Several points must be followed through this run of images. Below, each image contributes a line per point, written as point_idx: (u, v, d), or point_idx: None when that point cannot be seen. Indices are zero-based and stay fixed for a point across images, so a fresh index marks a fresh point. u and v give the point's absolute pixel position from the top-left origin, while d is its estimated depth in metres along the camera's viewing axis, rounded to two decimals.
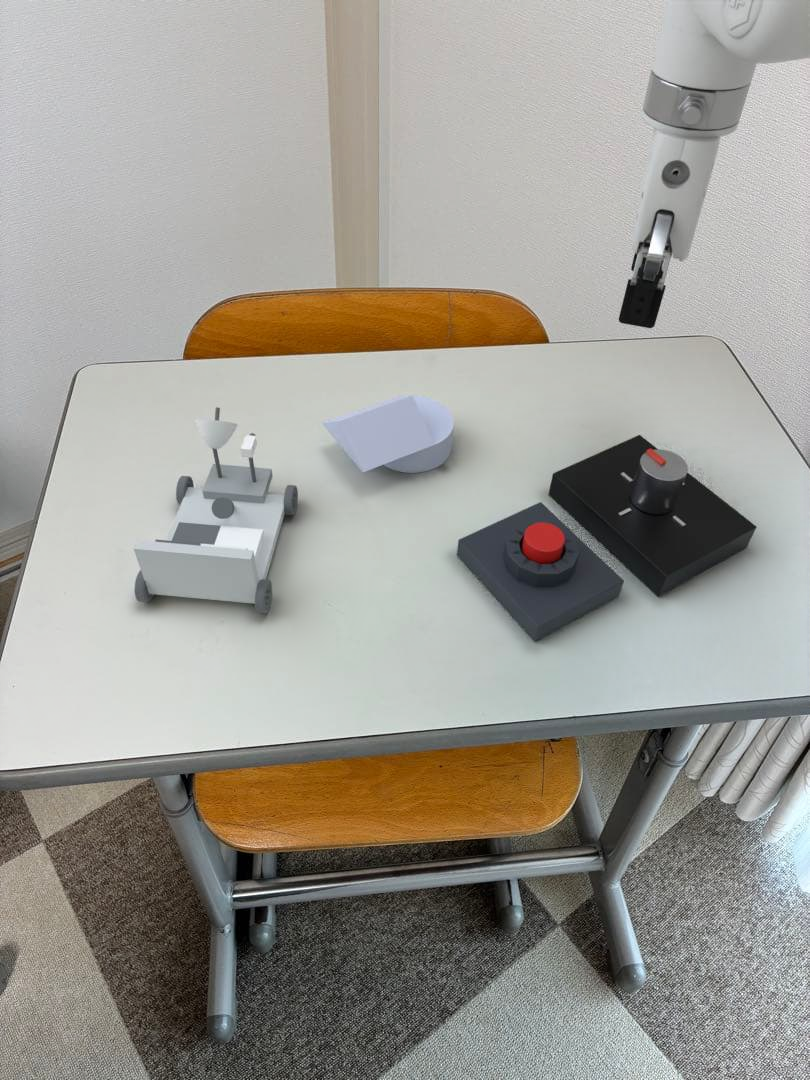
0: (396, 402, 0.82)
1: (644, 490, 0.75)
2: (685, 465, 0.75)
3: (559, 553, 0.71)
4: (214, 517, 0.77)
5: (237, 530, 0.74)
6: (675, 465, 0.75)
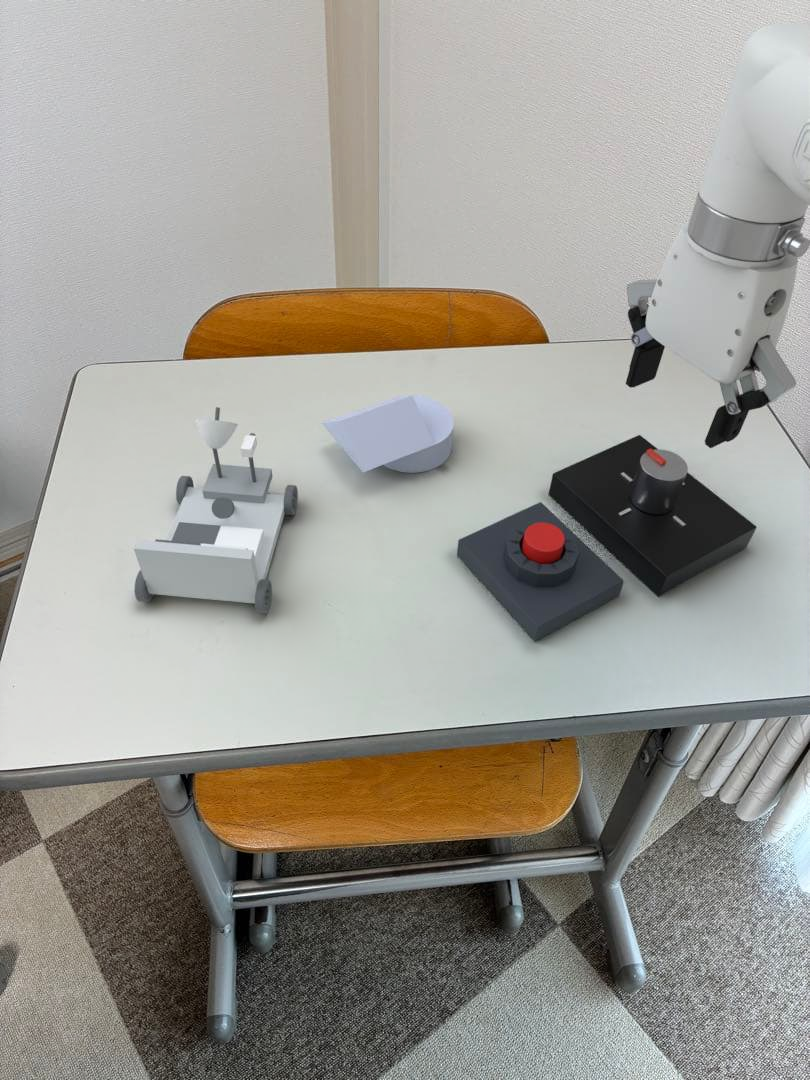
0: (396, 402, 0.82)
1: (644, 490, 0.75)
2: (685, 465, 0.75)
3: (559, 553, 0.71)
4: (214, 517, 0.77)
5: (237, 530, 0.74)
6: (675, 465, 0.75)
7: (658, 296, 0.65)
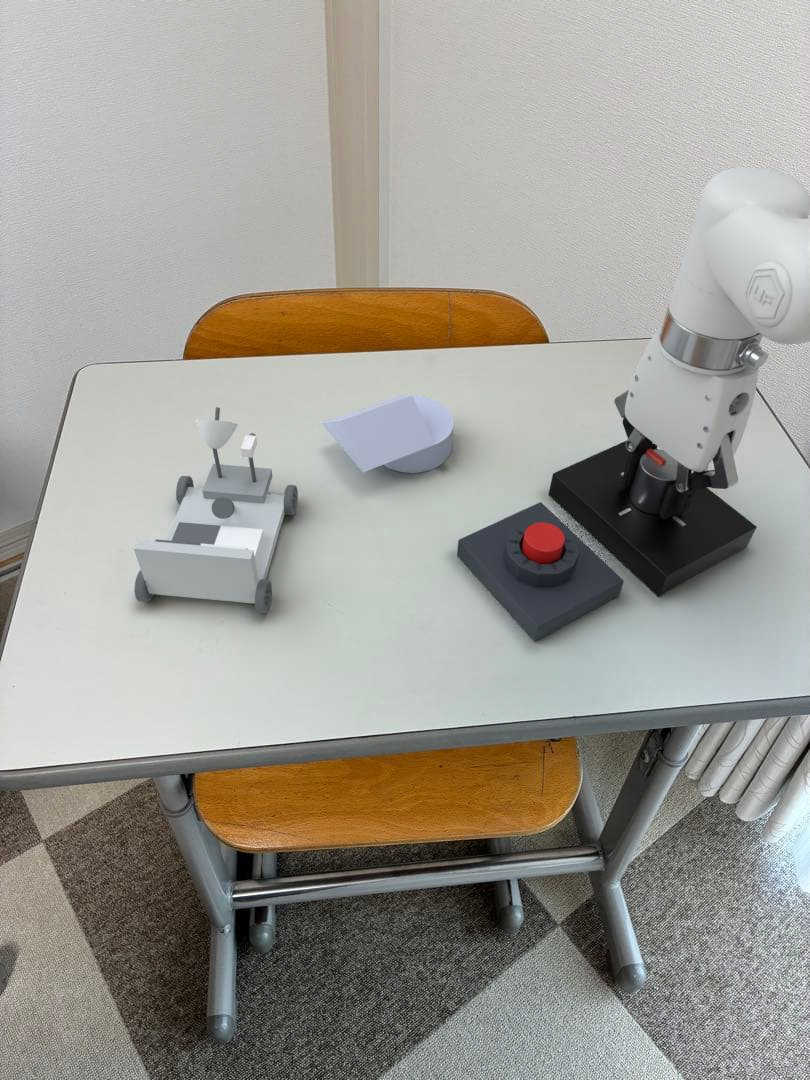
0: (396, 402, 0.82)
1: (644, 490, 0.75)
2: None
3: (559, 553, 0.71)
4: (214, 517, 0.77)
5: (237, 530, 0.74)
6: (675, 465, 0.75)
7: (635, 390, 0.71)
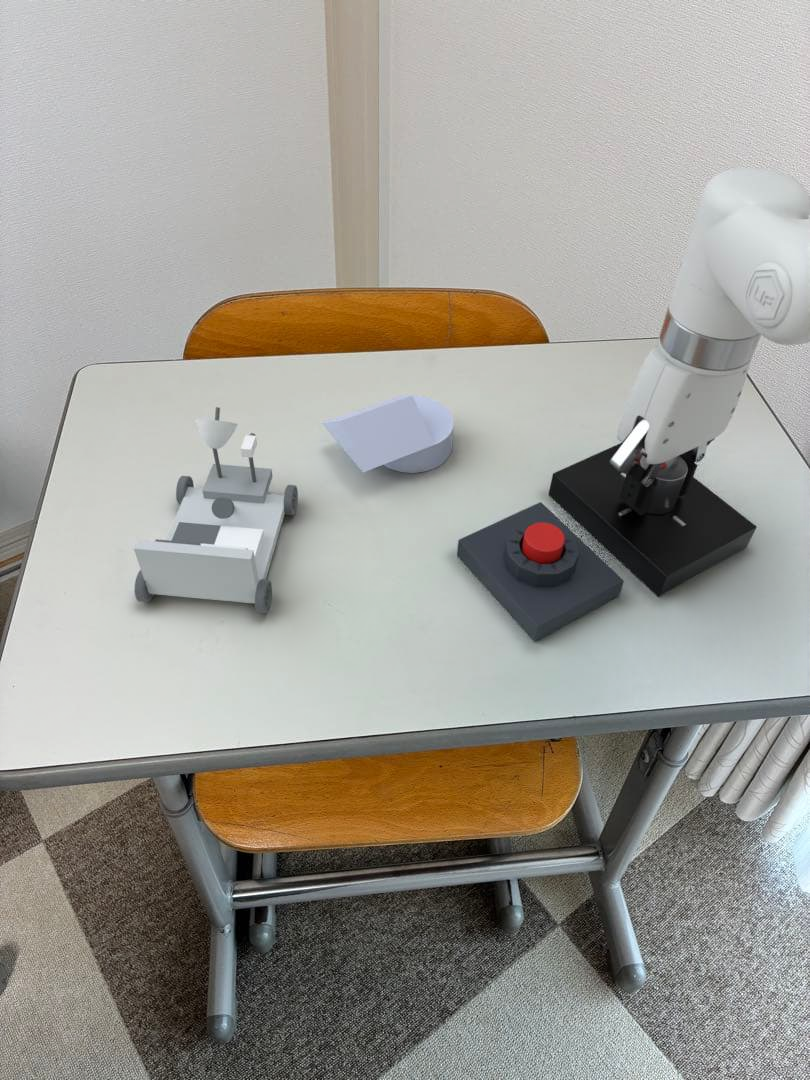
0: (396, 402, 0.82)
1: (677, 492, 0.75)
2: None
3: (559, 553, 0.71)
4: (214, 517, 0.77)
5: (237, 530, 0.74)
6: None
7: (670, 433, 0.67)
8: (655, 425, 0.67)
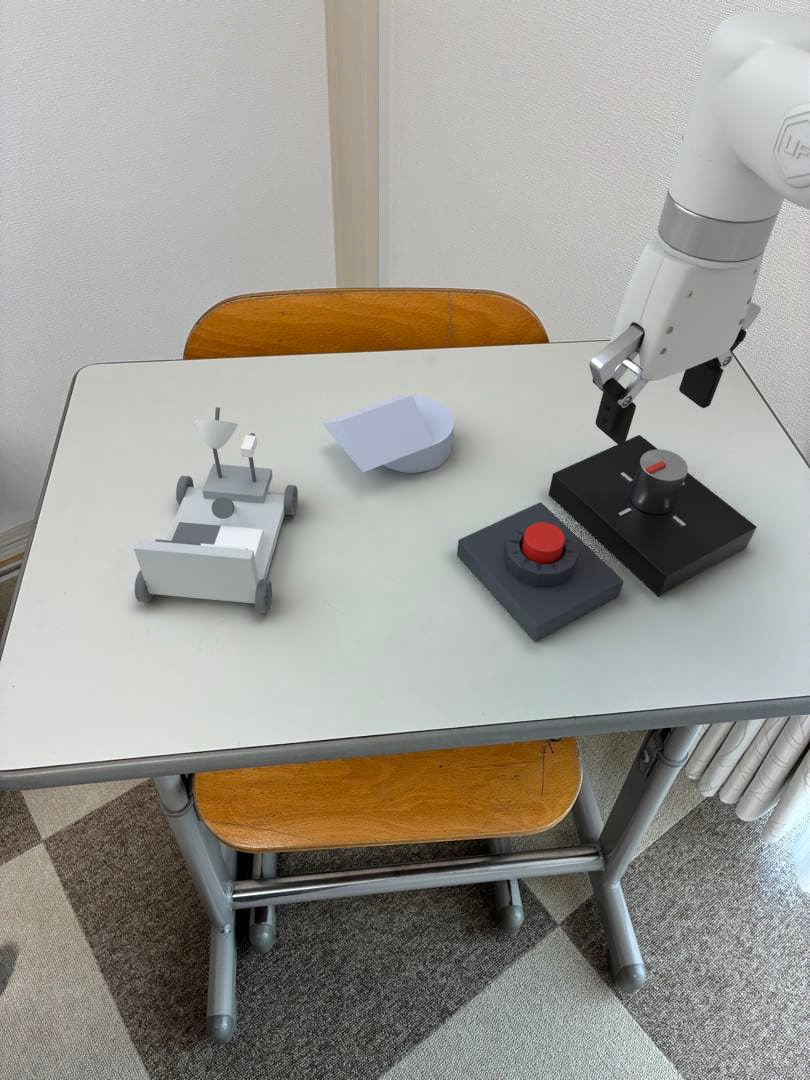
0: (396, 402, 0.82)
1: (677, 492, 0.75)
2: (660, 450, 0.76)
3: (559, 553, 0.71)
4: (214, 517, 0.77)
5: (237, 530, 0.74)
6: (663, 457, 0.76)
7: (669, 341, 0.59)
8: (651, 332, 0.58)
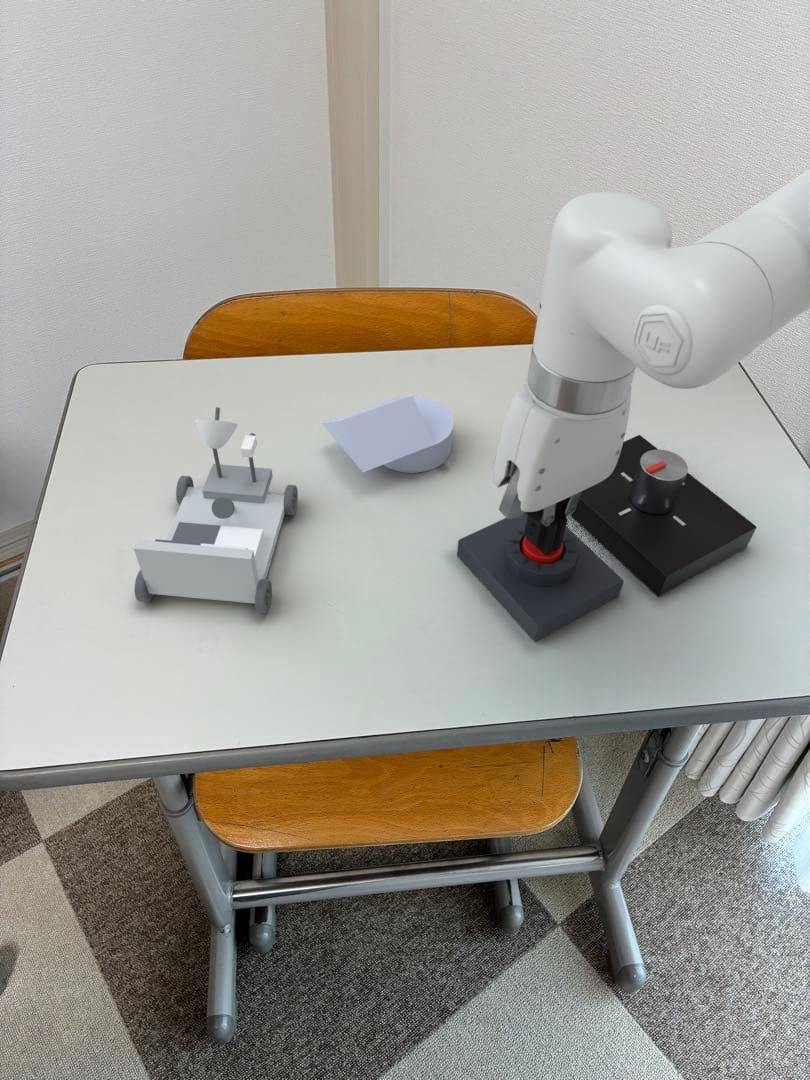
0: (396, 402, 0.82)
1: (677, 492, 0.75)
2: (660, 450, 0.76)
3: (557, 559, 0.72)
4: (214, 517, 0.77)
5: (237, 530, 0.74)
6: (663, 457, 0.76)
7: (542, 480, 0.61)
8: (525, 472, 0.61)
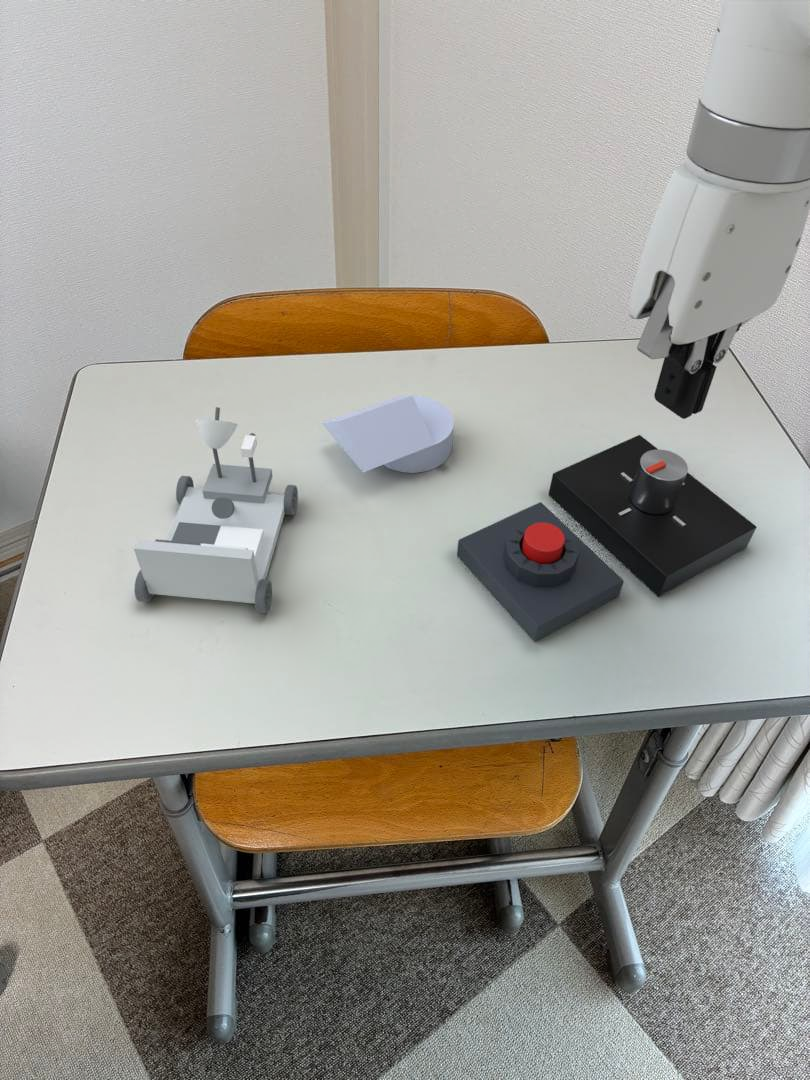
0: (396, 402, 0.82)
1: (677, 492, 0.75)
2: (660, 450, 0.76)
3: (559, 553, 0.71)
4: (214, 517, 0.77)
5: (237, 530, 0.74)
6: (663, 457, 0.76)
7: (705, 292, 0.47)
8: (683, 280, 0.47)
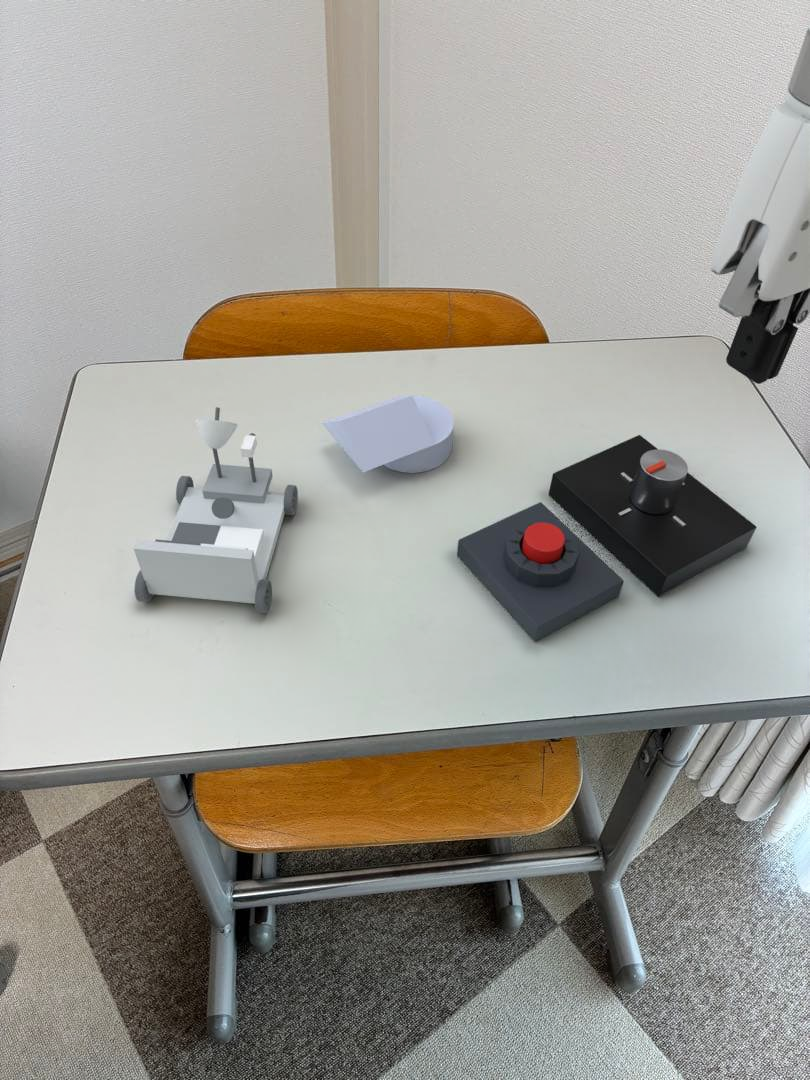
0: (396, 402, 0.82)
1: (677, 492, 0.75)
2: (660, 450, 0.76)
3: (559, 553, 0.71)
4: (214, 517, 0.77)
5: (237, 530, 0.74)
6: (663, 457, 0.76)
7: (801, 243, 0.44)
8: (779, 229, 0.44)
